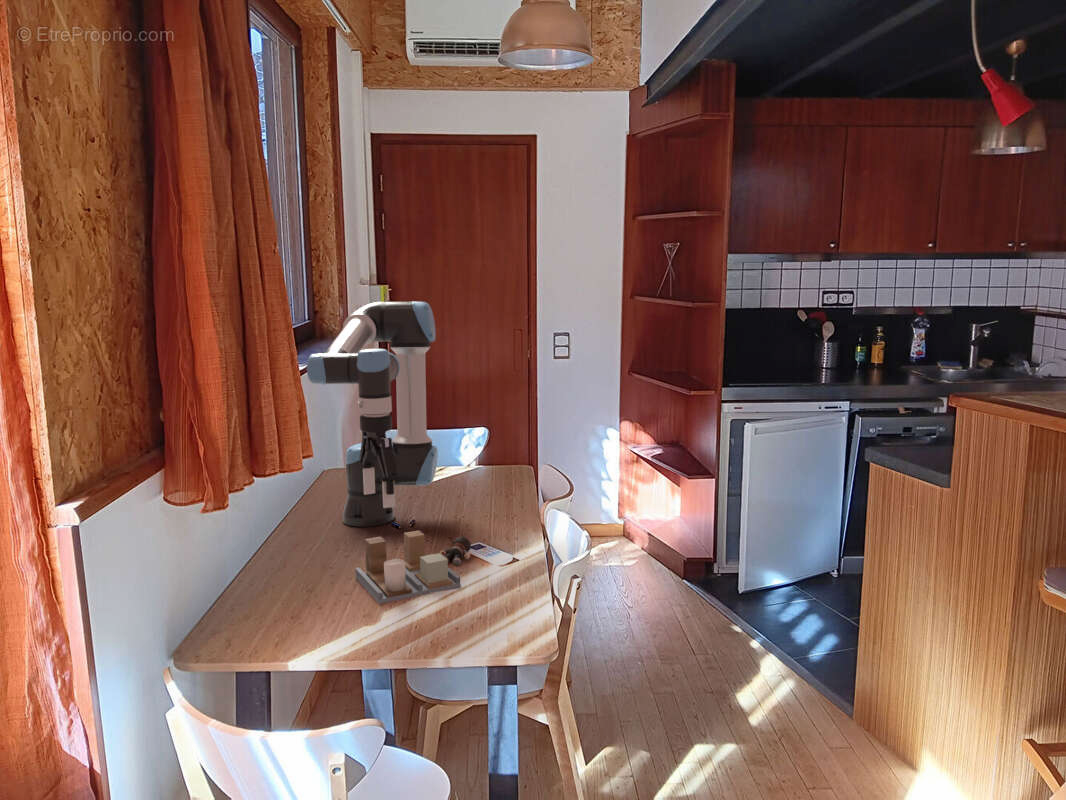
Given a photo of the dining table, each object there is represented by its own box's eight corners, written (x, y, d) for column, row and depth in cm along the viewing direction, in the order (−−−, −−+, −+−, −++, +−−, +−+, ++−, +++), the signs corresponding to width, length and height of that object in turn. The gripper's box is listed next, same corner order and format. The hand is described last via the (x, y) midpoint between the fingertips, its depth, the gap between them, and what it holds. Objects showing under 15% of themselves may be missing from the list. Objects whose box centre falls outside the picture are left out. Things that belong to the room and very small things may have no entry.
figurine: (466, 571, 213) (480, 551, 221) (464, 554, 211) (478, 534, 220) (436, 568, 215) (451, 548, 224) (433, 551, 213) (449, 531, 222)
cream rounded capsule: (382, 585, 194) (381, 561, 193) (401, 582, 197) (400, 557, 196) (388, 593, 190) (387, 567, 189) (408, 589, 193) (408, 564, 192)
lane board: (354, 576, 205) (352, 541, 204) (431, 562, 215) (429, 528, 213) (378, 603, 189) (377, 565, 187) (460, 586, 198) (459, 550, 197)
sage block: (420, 576, 200) (419, 556, 199) (440, 572, 202) (439, 553, 202) (428, 583, 196) (427, 563, 195) (448, 579, 198) (447, 559, 197)
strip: (362, 571, 206) (360, 539, 205) (385, 566, 209) (384, 535, 208) (387, 597, 190) (385, 564, 188) (412, 592, 192) (411, 559, 191)
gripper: (343, 408, 208) (347, 490, 212) (378, 424, 187) (382, 515, 191) (372, 405, 212) (376, 486, 216) (410, 420, 191) (413, 510, 194)
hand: (379, 500), depth 203 cm, fingers open, 13 cm apart
